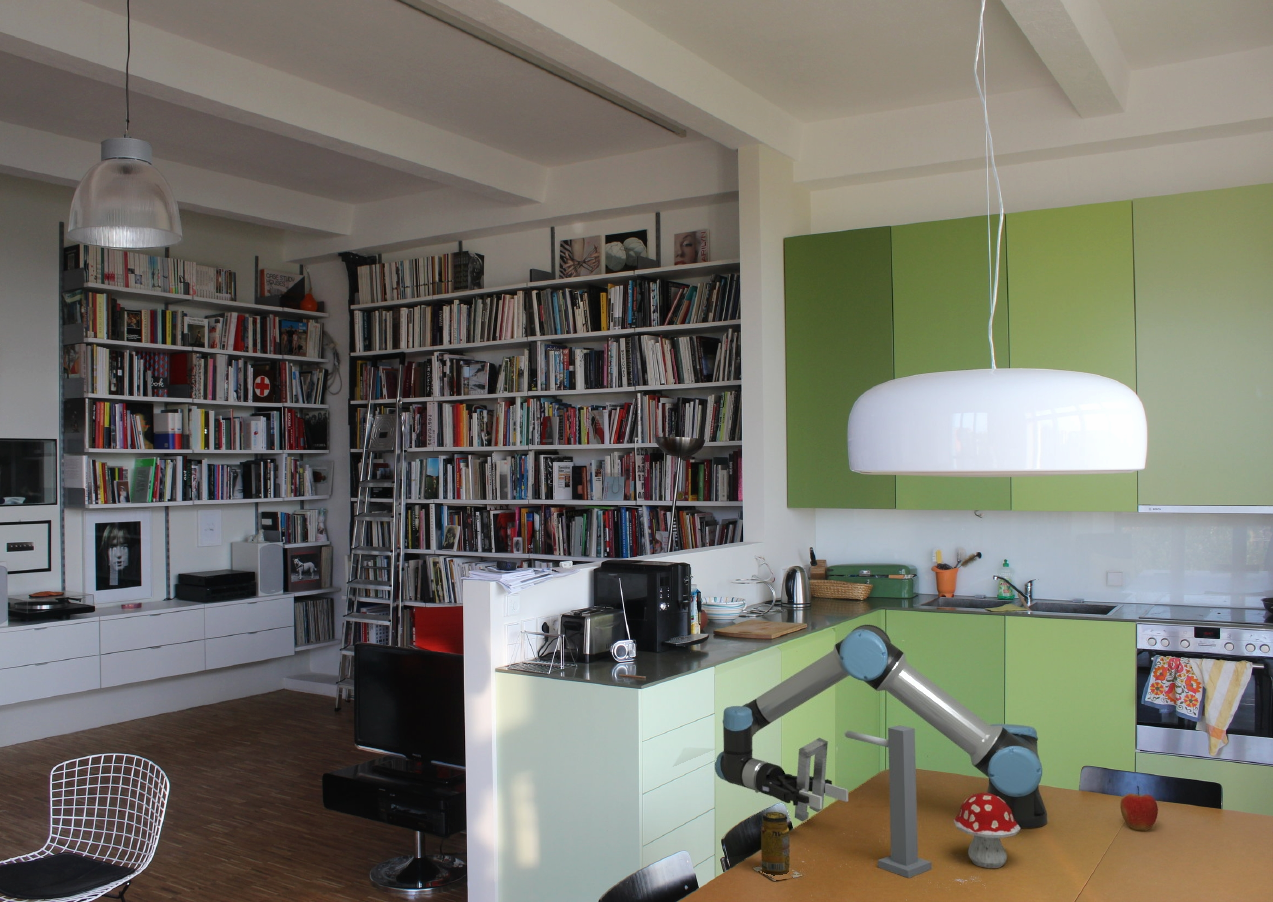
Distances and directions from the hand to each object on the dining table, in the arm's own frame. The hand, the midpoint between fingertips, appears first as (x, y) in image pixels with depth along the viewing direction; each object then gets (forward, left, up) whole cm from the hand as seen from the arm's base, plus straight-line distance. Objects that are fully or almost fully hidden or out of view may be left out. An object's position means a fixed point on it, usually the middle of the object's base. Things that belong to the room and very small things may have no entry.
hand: (834, 799), depth 229 cm
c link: (+6, -6, -5) cm, 10 cm away
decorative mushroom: (-33, +7, -10) cm, 35 cm away
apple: (-72, -22, -10) cm, 76 cm away
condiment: (+12, +20, -10) cm, 25 cm away
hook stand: (-10, +9, -10) cm, 17 cm away
